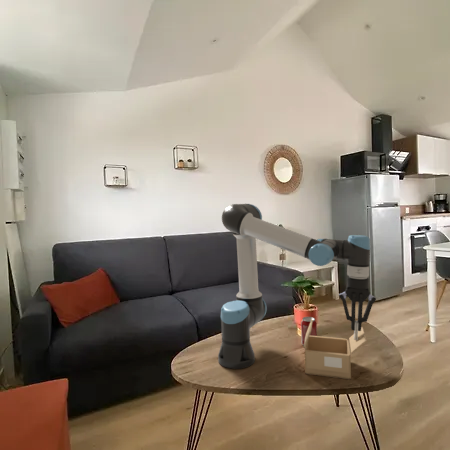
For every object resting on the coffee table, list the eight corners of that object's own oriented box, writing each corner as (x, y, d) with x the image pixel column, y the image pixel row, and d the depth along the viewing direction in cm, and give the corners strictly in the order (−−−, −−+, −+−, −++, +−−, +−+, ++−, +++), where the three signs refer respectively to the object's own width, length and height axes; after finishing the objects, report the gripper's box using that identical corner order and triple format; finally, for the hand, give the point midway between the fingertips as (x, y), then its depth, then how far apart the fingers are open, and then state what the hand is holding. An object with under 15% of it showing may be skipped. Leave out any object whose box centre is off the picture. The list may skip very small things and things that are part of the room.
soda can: (317, 348, 140) (317, 321, 139) (301, 347, 141) (301, 321, 141) (316, 342, 147) (315, 316, 146) (301, 341, 148) (300, 316, 147)
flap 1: (312, 319, 130) (311, 319, 131) (311, 331, 118) (309, 331, 118) (307, 334, 132) (305, 334, 132) (304, 348, 119) (303, 347, 119)
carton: (305, 374, 119) (304, 351, 118) (307, 356, 133) (307, 335, 133) (350, 380, 114) (350, 356, 113) (348, 360, 128) (348, 338, 128)
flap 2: (365, 340, 112) (366, 341, 112) (362, 326, 125) (363, 327, 125) (351, 352, 114) (352, 353, 114) (349, 338, 126) (349, 339, 126)
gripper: (340, 277, 116) (338, 340, 118) (378, 280, 112) (375, 345, 114) (339, 273, 123) (337, 332, 125) (375, 276, 120) (372, 337, 121)
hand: (355, 338), depth 119 cm, fingers closed
